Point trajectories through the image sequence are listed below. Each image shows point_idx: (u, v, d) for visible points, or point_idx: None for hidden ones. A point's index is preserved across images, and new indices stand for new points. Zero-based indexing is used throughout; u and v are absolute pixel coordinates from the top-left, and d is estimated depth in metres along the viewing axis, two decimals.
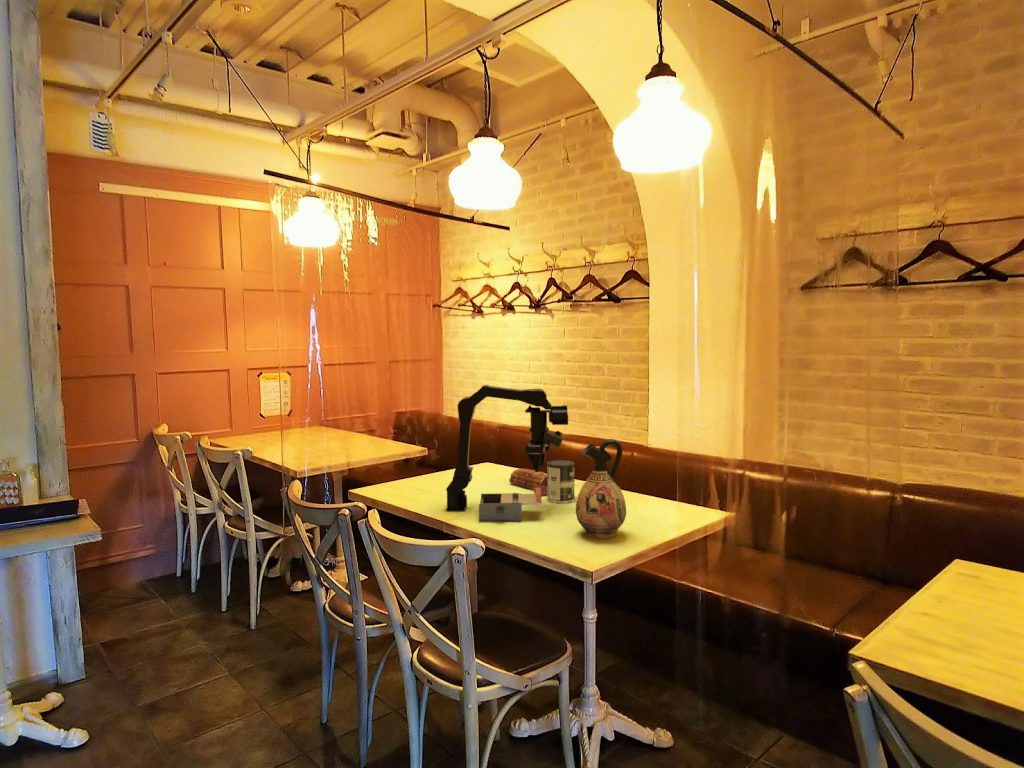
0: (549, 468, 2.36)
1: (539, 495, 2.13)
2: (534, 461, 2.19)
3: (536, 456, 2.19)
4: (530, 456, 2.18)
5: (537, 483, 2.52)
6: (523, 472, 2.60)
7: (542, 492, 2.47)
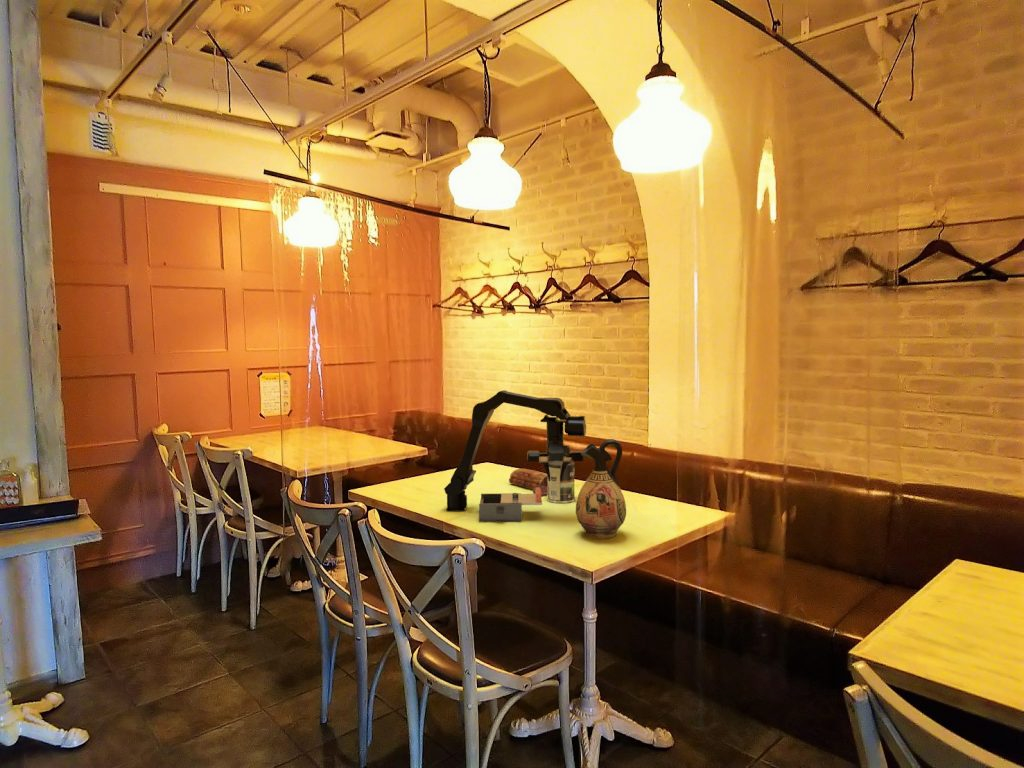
0: (549, 468, 2.36)
1: (539, 495, 2.13)
2: None
3: None
4: None
5: (537, 483, 2.51)
6: (523, 472, 2.60)
7: (541, 492, 2.47)
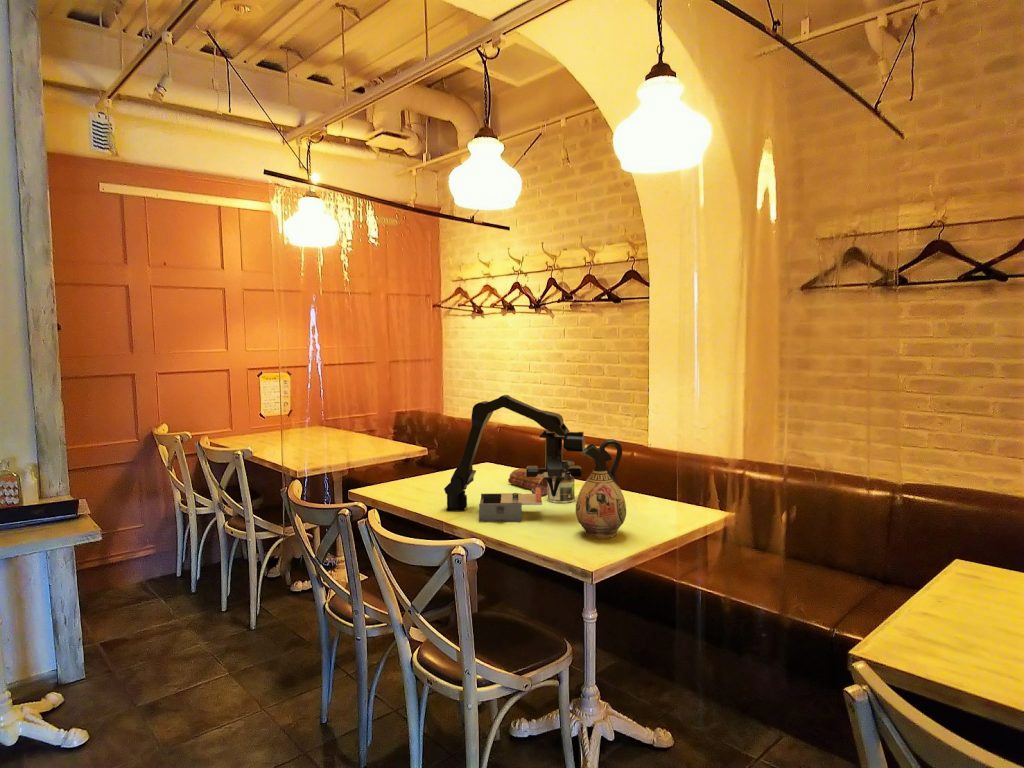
0: None
1: (539, 495, 2.13)
2: None
3: None
4: None
5: (536, 483, 2.51)
6: (522, 472, 2.60)
7: None
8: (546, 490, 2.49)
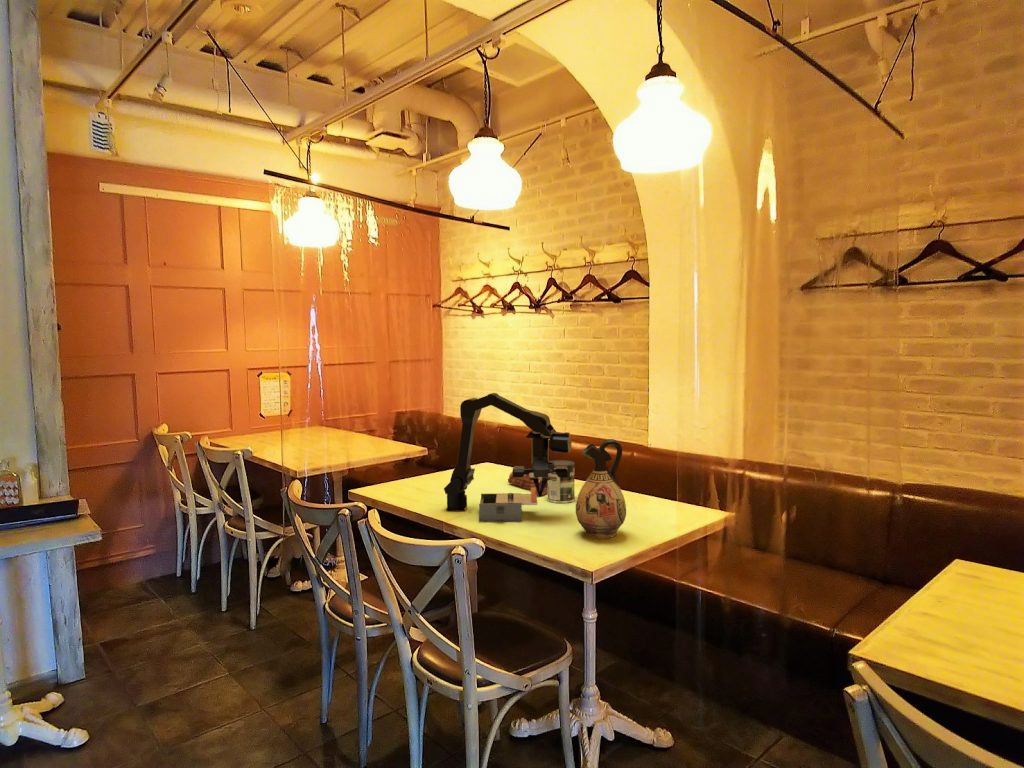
0: None
1: (534, 495, 2.13)
2: None
3: None
4: None
5: None
6: None
7: None
8: (545, 490, 2.48)
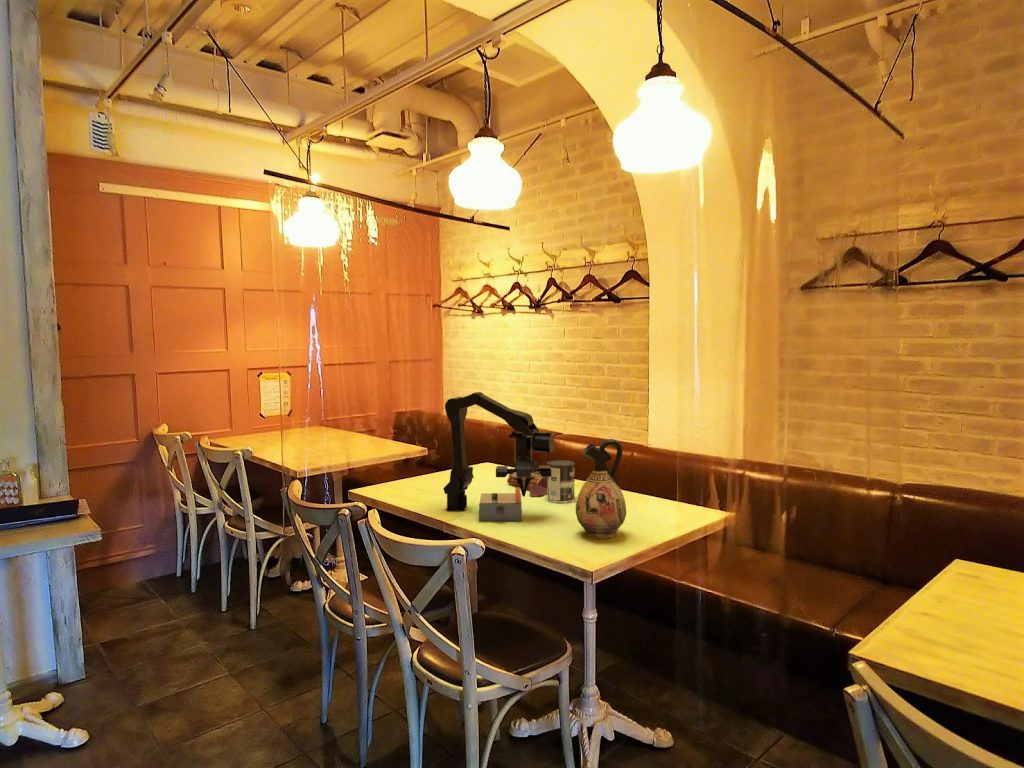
0: None
1: (518, 495, 2.13)
2: None
3: None
4: None
5: (534, 484, 2.51)
6: None
7: (538, 493, 2.46)
8: (544, 490, 2.48)
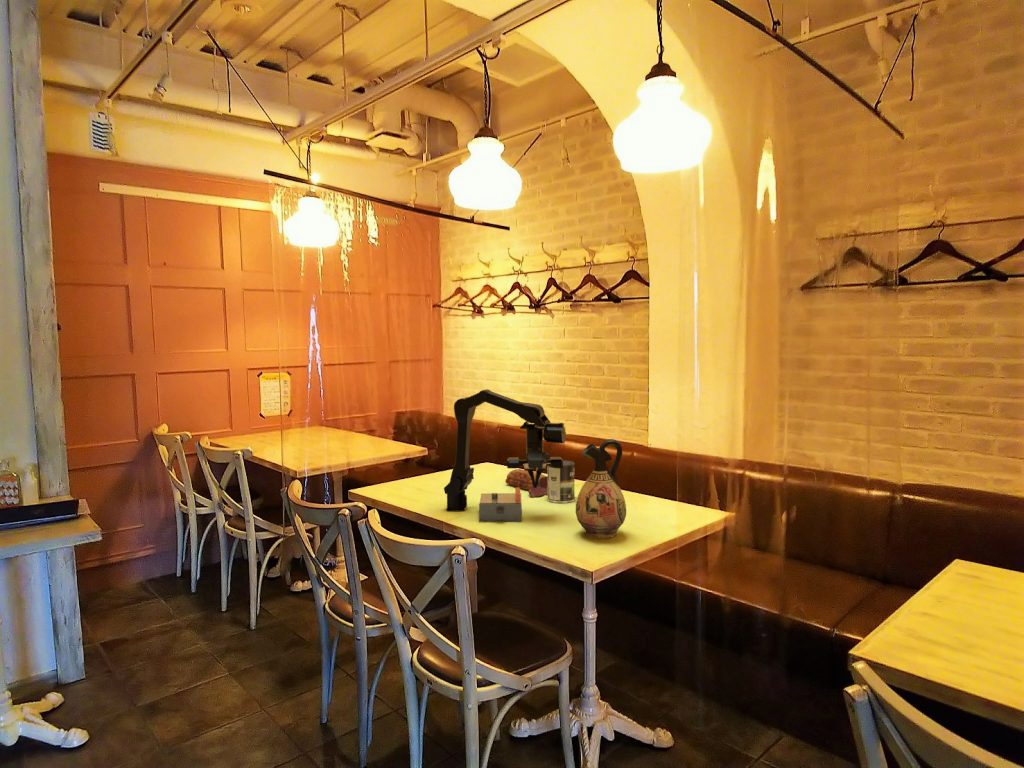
0: (549, 468, 2.36)
1: (518, 495, 2.13)
2: None
3: None
4: None
5: None
6: (519, 473, 2.59)
7: (537, 493, 2.46)
8: (543, 491, 2.48)
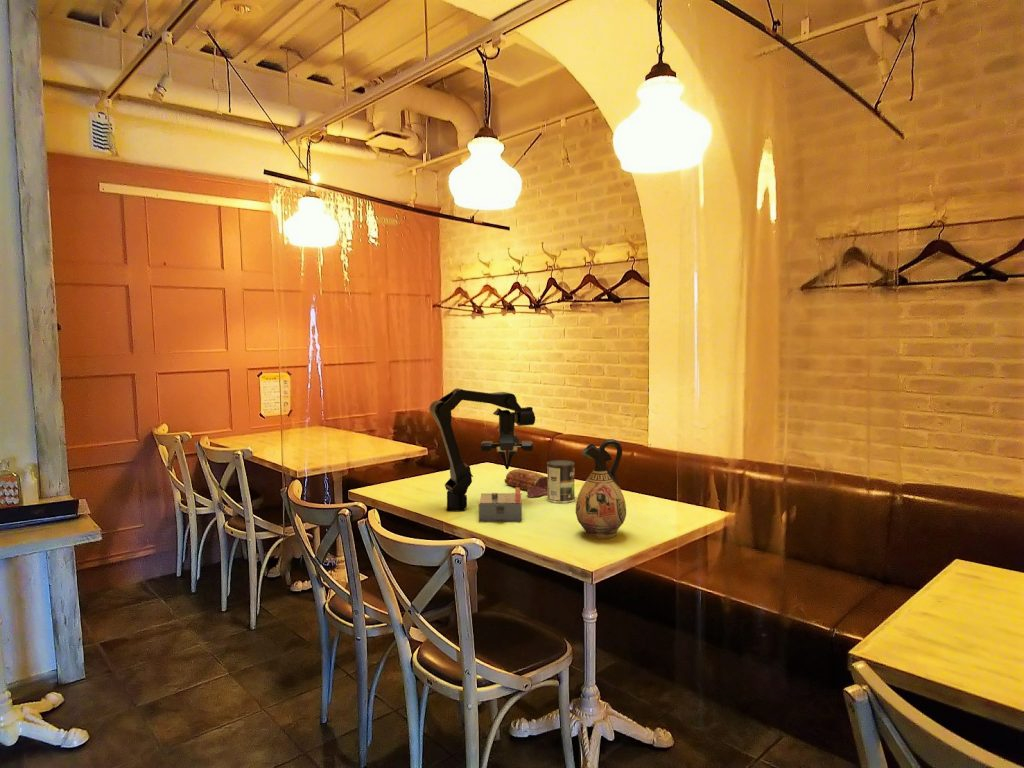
0: (549, 468, 2.36)
1: (518, 495, 2.13)
2: None
3: None
4: None
5: (532, 484, 2.50)
6: (518, 473, 2.59)
7: (536, 493, 2.45)
8: (542, 491, 2.47)
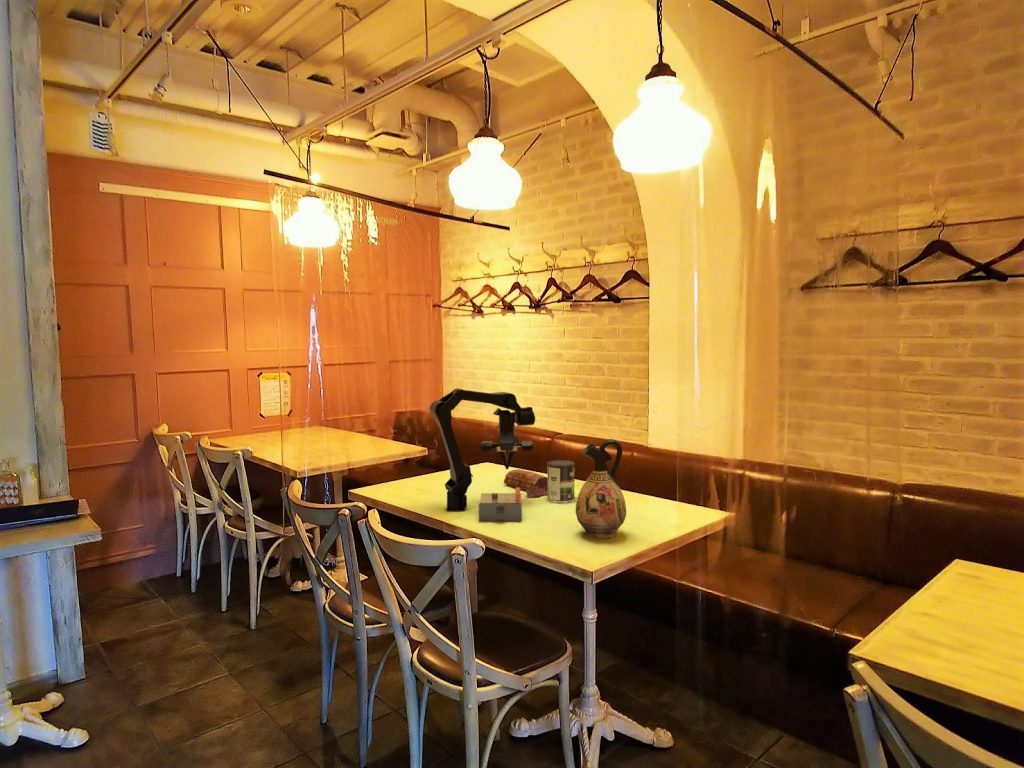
0: (549, 468, 2.36)
1: (518, 495, 2.13)
2: None
3: None
4: None
5: (531, 484, 2.50)
6: (517, 473, 2.59)
7: (535, 493, 2.45)
8: (541, 491, 2.47)
